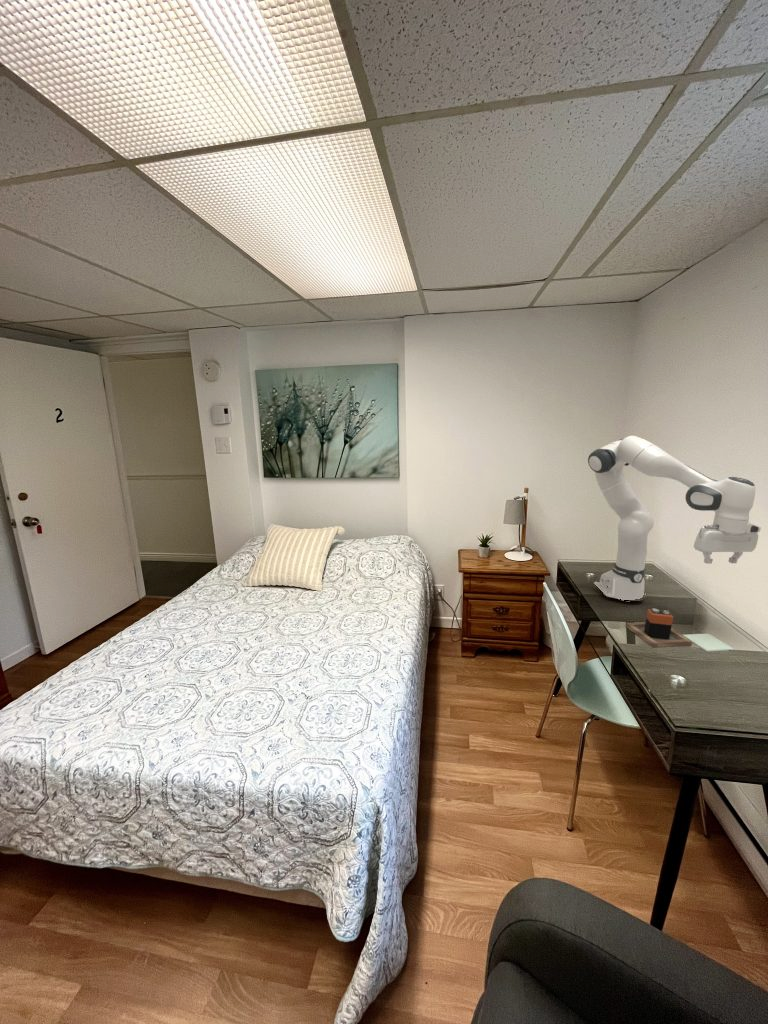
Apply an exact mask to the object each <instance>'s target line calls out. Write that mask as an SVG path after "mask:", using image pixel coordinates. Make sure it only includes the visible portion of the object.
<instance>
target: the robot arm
mask: <svg viewBox="0 0 768 1024" xmlns="http://www.w3.org/2000/svg"><path fill="white" fill-rule="evenodd" d="M587 462H588V466H589V467H590V469H591V470H592V471H593V472H594V476H595V479H596V482H597V486H598V487H599V490H600V491H601V493H602V494H603V497H604V498H605V500H606V502H607V504H608V506H609V507H610V509H612V510H613V512H614V513H616V515H617V516H618V518H620V521H619V523H618V526H617V552H616V553H617V554H616V562H613V563H611V566H613V567H612V569H611V570H609V571H607V572H603V573H602V574H601V576H600V578H599V581H600V582H597V581H598V580H596V581H594V582H593V585H594V584H595V585H596V586H597V587H598V588H599V589H600V590H601V591H602V592H603V595H604V596H606V597H607V598H613V599H618V600H620V599H621V600H620V601H624V600H635V599H640V598H642V597H643V595H644V592H645V578H644V577H645V574H646V568H645V567H646V561H647V560H646V559H647V554H648V550H647V549H648V548H647V547H648V545H647V544H648V535H649V533H650V532H651V530H652V529H653V528H654V519H653V516H652V515H651V513H649V511H648V510H647V508H646V507H645V506H644V504H643V503H642V502H641V500H640V499H639V498H638V496H637V495H636V493H635V492H634V490H633V488H632V486H631V485H630V483H629V481H628V479H627V477H626V476H625V473H624V472H623V469H624V466H625V467H627V466H629V465H630V466H631V467H633V468H634V469H636V471H638V472H640V473H641V474H645V475H646V476H649V477H656V478H665V479H671V480H675V481H676V482H677V481H678V482H680V483H681V484H682V485H685V486H686V487H688V488H689V489H688V490H687V491H686V493H685V502H686V504H687V506H689V507H690V508H691V509H693V510H694V511H695V510H696V511H700V512H706V511H709V512H710V511H711V512H712V511H713V512H714V513H715V514H714V518H713V522H712V525H708V524H707V525H703V526H702V527H701V528H699V531H698V532H697V534H696V537H695V540H694V544H693V547H694V550H696V551H698V552H702V555H703V557H704V558H703V563H704V564H709V565H710V564H712V563H713V560H714V559H713V558H712V557H711V555H712V553H733V554H732V556H729V558H728V562H729V564H730V563H731V564H737V563H738V560H739V559H740V558H741V557H742V556H743V554H744V553H749V552H750V553H752V552H753V551H755V549H756V548H757V545H758V540H759V533H760V532H761V529H762V527H761V526H759V525H757V524H755V523H754V524H753V523H751V522H750V511H751V510H752V509H753V506H754V501H755V496H756V485H755V483H754V482H752V481H750V480H748V479H746V478H742V477H737V476H729V477H728V476H727V477H726V478H724V479H721V480H716V479H713V478H711V477H709V476H707V475H705V474H704V473H701V472H699V471H697V470H696V469H694V468H692V467H691V466H688V465H687V464H686V463H683V462H681V461H680V460H678V459H677V458H675V457H674V456H673V455H670V454H669V453H668V452H666V451H665V450H664V449H662V448H661V447H659V446H657V445H656V444H654V443H653V442H650V441H649V440H646V439H644V438H642V437H639V436H637V435H629V436H625V437H624V438H620V439H619V440H615V441H611V442H609V443H607V444H606V445H604V446H601V447H600V448H597V449H595V450H594V451H592V452H591V453H590V454H589V455H588V457H587ZM595 585H594V586H595ZM596 586H595V587H596ZM597 587H596V588H597ZM598 588H597V589H598ZM599 589H598V590H599ZM600 590H599V591H600ZM602 592H601V593H602Z"/></svg>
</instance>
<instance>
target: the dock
mask: <svg viewBox="0 0 768 1024" xmlns="http://www.w3.org/2000/svg"><path fill="white" fill-rule="evenodd" d="M645 623H646V621H645V622H643V621H642V622H626V623H625V628H626V629H628V630H629V631H630V632H632V633H634V634H635V635H636V636H638V637H639V638H640V639H642V640H643V641H645V643H647V644H648V645H650V646H651V647H652V648H667V647H685V646H686V647H687V646H688V647H690V646H692V645H693V644H692V641H690V640H689V639H687V638H686V637H684V636H683V635H684V634H681V633H679V632H678V631H677V630H675V629H673V627H671V633H670V636H672V637H674V638H675V639H664V640H654V638H653V637H649V636H648V635H647V634H646V633H645V632H643V631H642V630H641V629H645Z"/></svg>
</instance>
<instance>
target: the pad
mask: <svg viewBox="0 0 768 1024" xmlns="http://www.w3.org/2000/svg"><path fill="white" fill-rule="evenodd" d="M682 635H683V636H684V637H686V638H687V639H689V640H690V641H692V643H693V644H694V645H695V646H697V647H698V648H700V649H702V650H703V651H705V652H708V653H709V652H729V650H731V651H734V650H735V648H734V647H731V646H730V645H728V644H727V643H724V641H721V640H720V639H718V638H716V637H715V636H713V635H712V634H710V633H693V634H682Z"/></svg>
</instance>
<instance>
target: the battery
mask: <svg viewBox="0 0 768 1024" xmlns="http://www.w3.org/2000/svg"><path fill="white" fill-rule="evenodd" d="M673 621H674V616H673V615H672V613H671V612H670V611H669V610H667V609H664V610H662V609H661V610H660V609H658V608H648V609H647V612H646V617H645V622H646V623H645V628H643V629H644V630H643V631H644V633H645V634H646V635H647V636H649V637H650V638H653V639H654V638H655V639H664V640H670V637H671V635H670V633H671V628H673V627H672V626H673Z"/></svg>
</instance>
